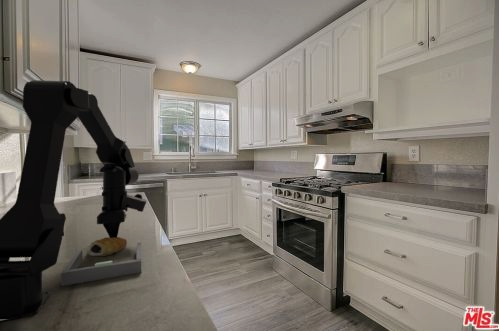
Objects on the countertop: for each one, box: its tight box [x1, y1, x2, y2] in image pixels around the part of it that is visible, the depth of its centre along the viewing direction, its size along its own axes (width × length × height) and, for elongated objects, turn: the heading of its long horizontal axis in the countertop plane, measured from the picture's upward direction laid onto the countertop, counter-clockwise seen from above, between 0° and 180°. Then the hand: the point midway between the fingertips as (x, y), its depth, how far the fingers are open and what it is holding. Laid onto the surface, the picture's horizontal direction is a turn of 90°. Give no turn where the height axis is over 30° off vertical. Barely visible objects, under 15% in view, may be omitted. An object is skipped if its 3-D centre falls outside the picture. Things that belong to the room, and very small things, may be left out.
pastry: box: [86, 236, 128, 257], centre depth 64 cm, size 9×7×4 cm
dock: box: [60, 242, 142, 287], centre depth 54 cm, size 13×14×3 cm
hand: (114, 241), depth 68 cm, fingers closed
